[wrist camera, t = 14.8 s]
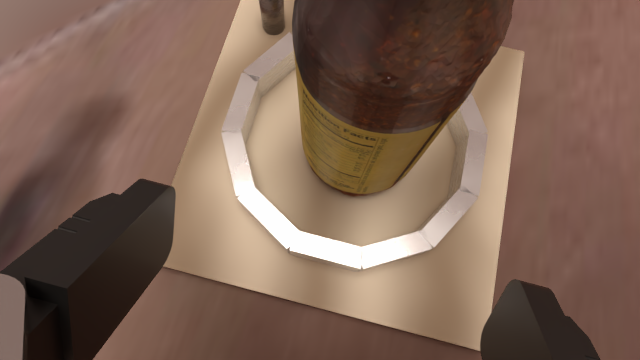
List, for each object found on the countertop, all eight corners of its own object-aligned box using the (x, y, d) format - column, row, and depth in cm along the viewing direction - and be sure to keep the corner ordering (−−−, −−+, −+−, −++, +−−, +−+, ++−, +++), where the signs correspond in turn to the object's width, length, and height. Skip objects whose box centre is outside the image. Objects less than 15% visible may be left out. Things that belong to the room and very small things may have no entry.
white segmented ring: (486, 67, 26) (509, 37, 23) (450, 296, 22) (472, 295, 19) (265, 13, 26) (261, -23, 23) (190, 228, 22) (174, 217, 19)
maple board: (515, 62, 27) (524, 51, 26) (476, 350, 22) (486, 352, 21) (249, -3, 28) (246, -16, 27) (150, 263, 23) (142, 260, 22)
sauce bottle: (372, 81, 25) (590, -612, 6) (432, 167, 24) (959, -373, 5) (276, 133, 24) (172, -520, 5) (334, 226, 23) (501, -170, 4)
